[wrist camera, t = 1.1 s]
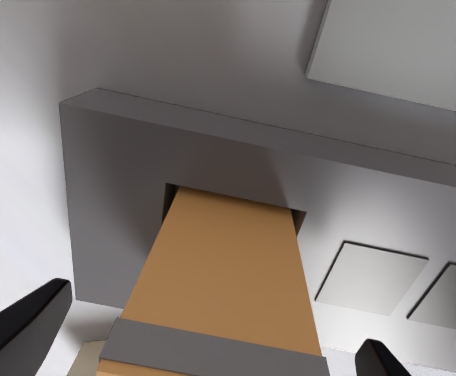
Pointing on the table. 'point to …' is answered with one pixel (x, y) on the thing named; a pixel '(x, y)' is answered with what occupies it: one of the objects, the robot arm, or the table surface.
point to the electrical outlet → (87, 359)
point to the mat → (389, 49)
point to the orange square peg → (218, 296)
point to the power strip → (276, 195)
